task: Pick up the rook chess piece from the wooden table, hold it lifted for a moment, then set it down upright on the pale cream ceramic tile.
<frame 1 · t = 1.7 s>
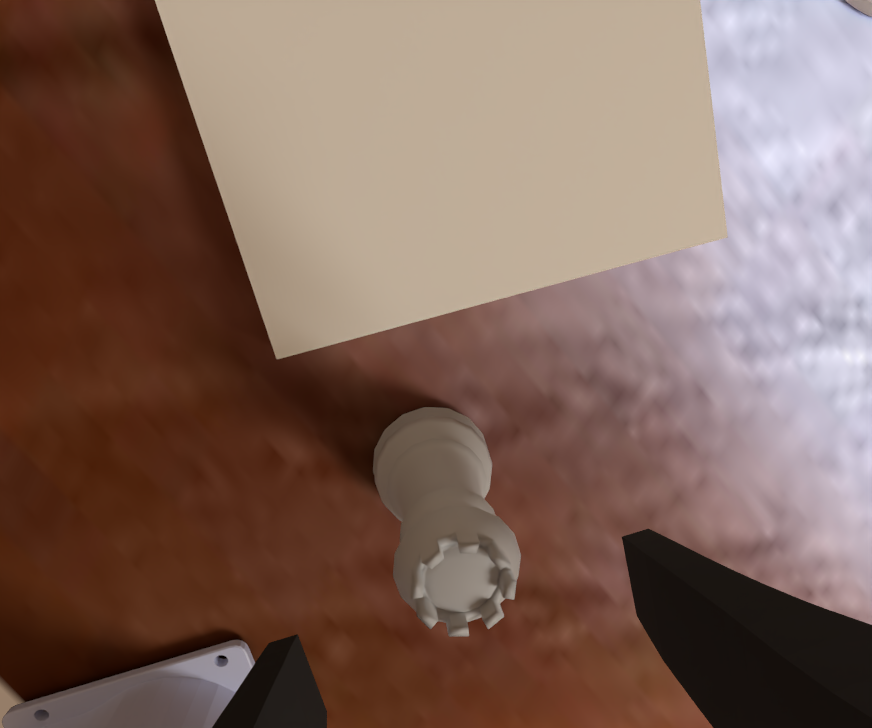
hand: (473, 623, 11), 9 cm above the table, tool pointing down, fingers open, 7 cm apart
cream tile: (462, 137, 17), on the table
rook chess piece: (429, 455, 20), on the table
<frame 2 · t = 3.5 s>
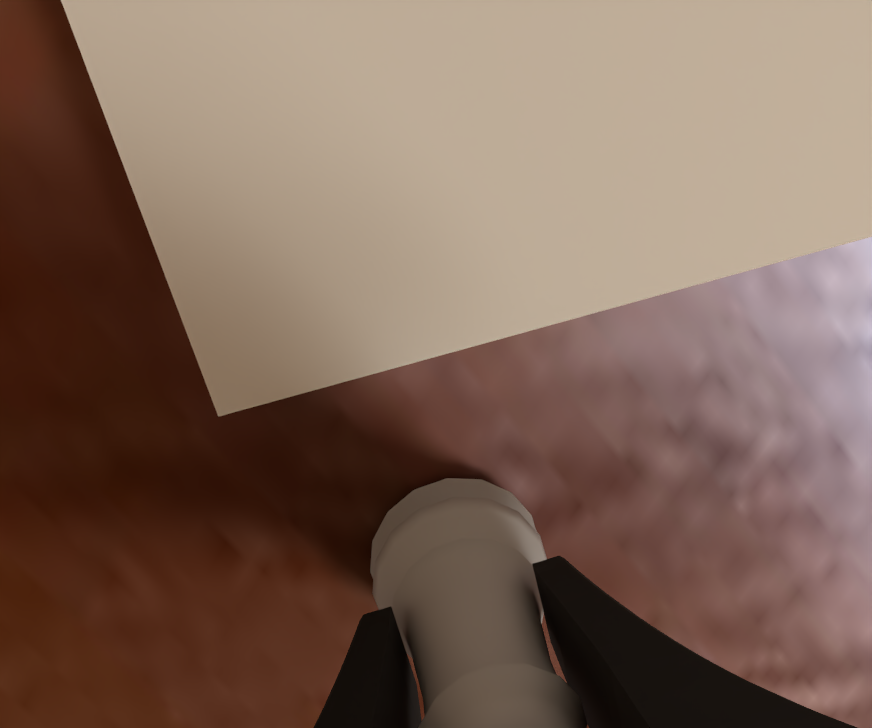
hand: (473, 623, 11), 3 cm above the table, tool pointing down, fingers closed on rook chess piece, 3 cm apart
cream tile: (507, 71, 11), on the table
rook chess piece: (452, 542, 14), on the table, touching gripper
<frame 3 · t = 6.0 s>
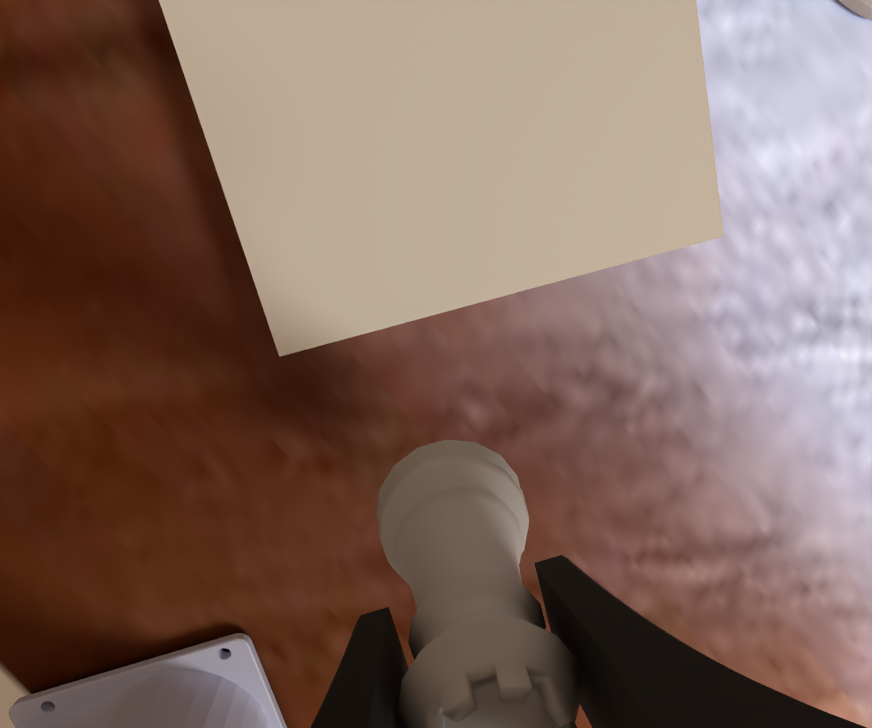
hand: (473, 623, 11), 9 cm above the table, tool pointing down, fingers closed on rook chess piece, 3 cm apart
cream tile: (462, 138, 17), on the table
rook chess piece: (448, 497, 16), point 4 cm above the table, touching gripper
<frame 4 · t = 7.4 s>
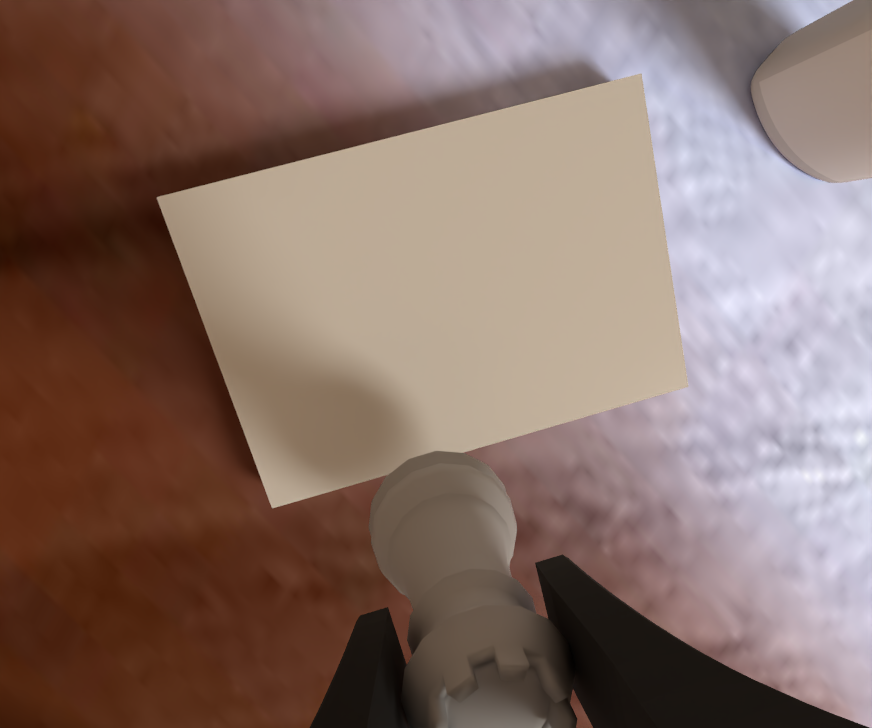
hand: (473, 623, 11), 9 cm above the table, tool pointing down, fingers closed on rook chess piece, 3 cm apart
eye dropper bottle: (802, 116, 19), on the table
cream tile: (442, 297, 19), on the table
rook chess piece: (438, 509, 16), point 4 cm above the table, touching gripper
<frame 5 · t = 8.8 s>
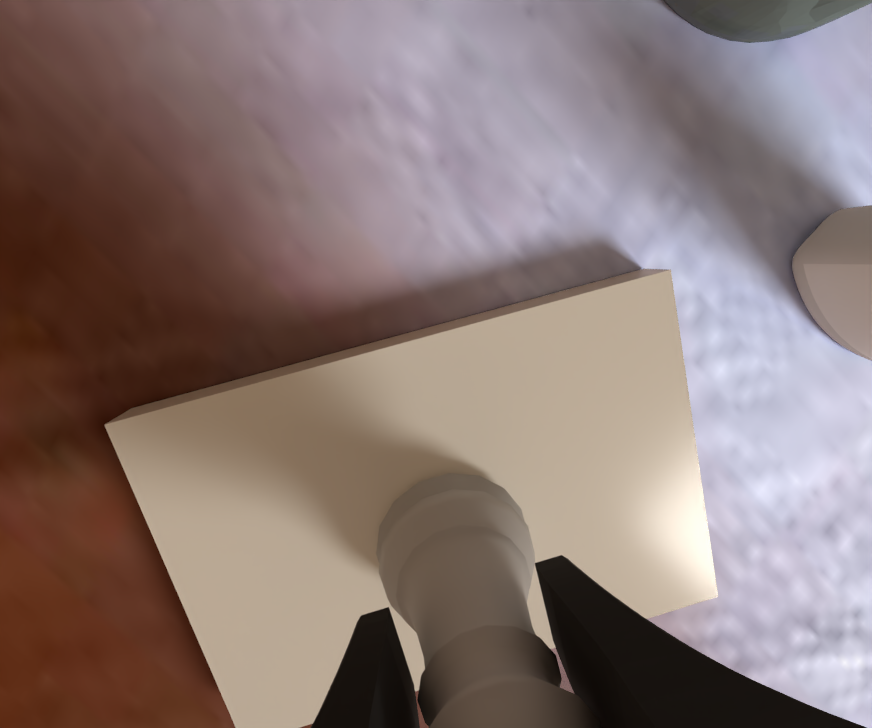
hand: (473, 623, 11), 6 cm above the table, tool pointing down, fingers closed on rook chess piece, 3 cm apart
eye dropper bottle: (848, 288, 17), on the table
cream tile: (439, 497, 16), on the table
rook chess piece: (449, 531, 15), point 1 cm above the table, touching cream tile, gripper
when the fingers open (5 cm above the table, at t = 9.7 s): rook chess piece stays where it is, resting on cream tile.
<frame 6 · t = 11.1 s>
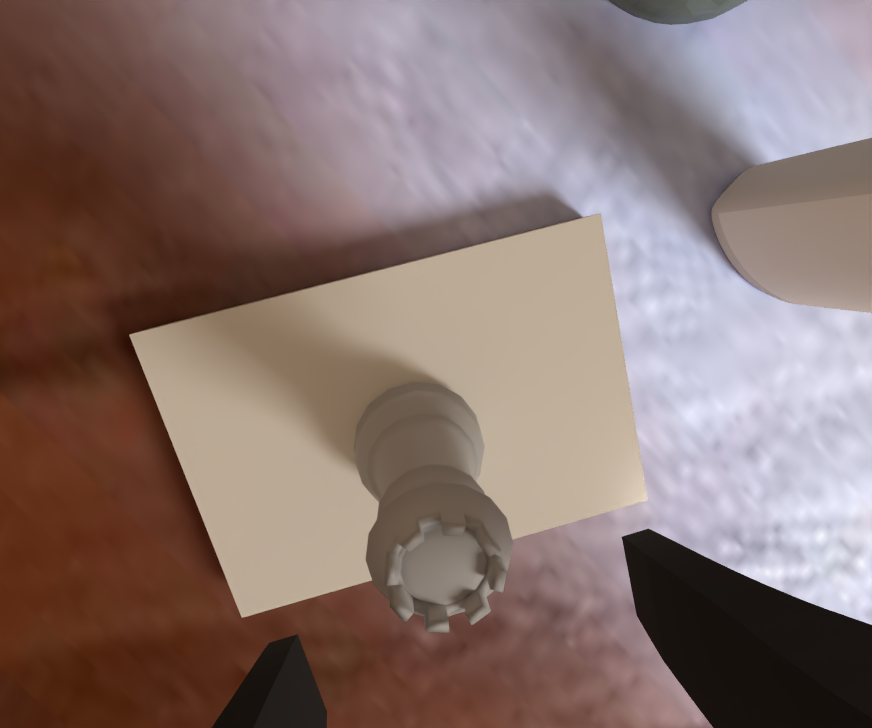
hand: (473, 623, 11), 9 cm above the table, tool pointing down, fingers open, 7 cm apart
eye dropper bottle: (762, 238, 20), on the table
cream tile: (410, 412, 19), on the table
rook chess piece: (417, 436, 18), point 1 cm above the table, touching cream tile
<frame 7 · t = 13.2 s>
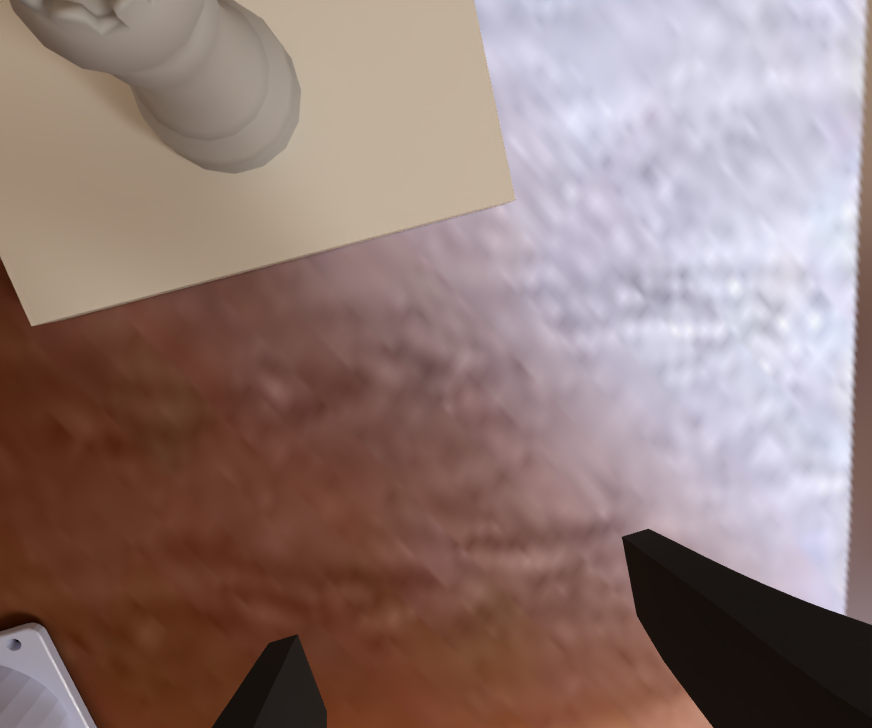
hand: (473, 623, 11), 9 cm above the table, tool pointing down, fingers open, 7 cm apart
cream tile: (235, 95, 16), on the table
rook chess piece: (230, 100, 15), point 1 cm above the table, touching cream tile
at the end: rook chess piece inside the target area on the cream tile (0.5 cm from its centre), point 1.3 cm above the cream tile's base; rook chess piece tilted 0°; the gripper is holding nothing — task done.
